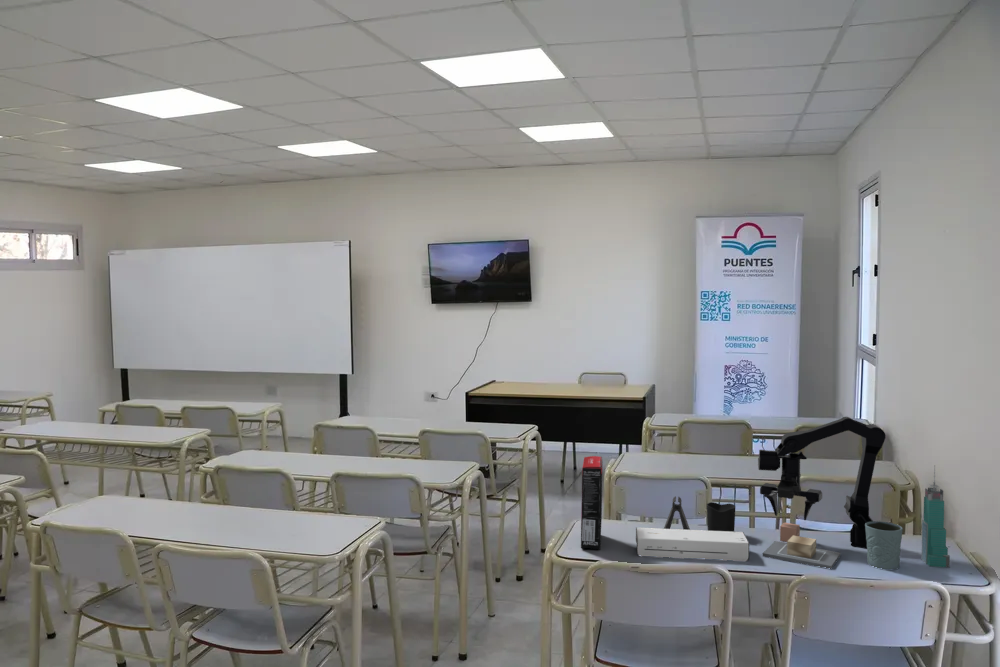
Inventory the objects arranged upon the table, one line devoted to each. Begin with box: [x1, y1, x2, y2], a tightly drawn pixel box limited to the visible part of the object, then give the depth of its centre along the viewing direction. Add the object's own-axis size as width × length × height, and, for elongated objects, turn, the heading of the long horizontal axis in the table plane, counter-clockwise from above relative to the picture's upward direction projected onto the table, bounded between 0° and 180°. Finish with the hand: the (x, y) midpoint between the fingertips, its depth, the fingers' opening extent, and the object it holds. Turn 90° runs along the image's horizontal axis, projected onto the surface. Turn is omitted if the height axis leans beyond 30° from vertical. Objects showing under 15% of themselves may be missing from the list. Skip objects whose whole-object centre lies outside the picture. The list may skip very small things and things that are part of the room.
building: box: [921, 465, 951, 568], centre depth 223 cm, size 6×6×30 cm
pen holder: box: [706, 501, 736, 532], centre depth 253 cm, size 9×9×10 cm
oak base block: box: [786, 535, 817, 558], centre depth 231 cm, size 7×7×4 cm
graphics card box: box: [580, 455, 603, 550], centre depth 245 cm, size 17×7×27 cm, turn 172°
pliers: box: [663, 496, 691, 530], centre depth 255 cm, size 9×6×12 cm, turn 75°
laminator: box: [635, 527, 750, 562], centre depth 235 cm, size 34×12×6 cm, turn 81°
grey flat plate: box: [762, 540, 842, 570], centre depth 231 cm, size 20×14×1 cm
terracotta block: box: [779, 522, 801, 543], centre depth 247 cm, size 5×5×5 cm
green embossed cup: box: [865, 520, 903, 570], centre depth 223 cm, size 10×10×12 cm
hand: (790, 517), depth 246 cm, fingers open, 9 cm apart
